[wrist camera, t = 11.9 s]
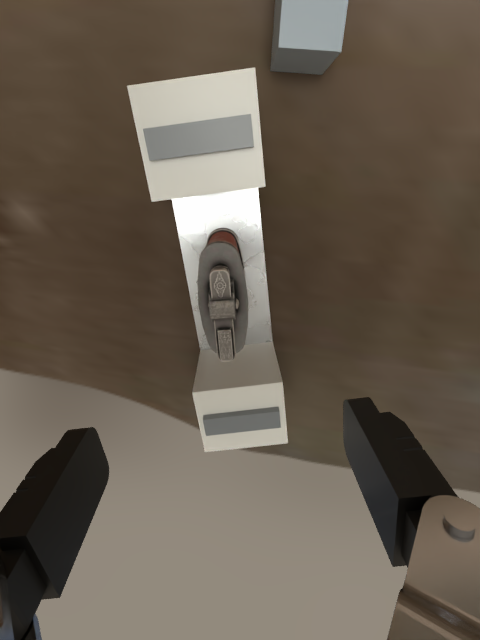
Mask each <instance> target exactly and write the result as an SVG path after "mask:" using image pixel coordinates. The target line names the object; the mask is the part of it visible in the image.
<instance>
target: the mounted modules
mask: <svg viewBox="0 0 480 640" xmlns="http://www.w3.org/2000/svg"><path fill="white" fill-rule="evenodd" d="M127 88H128V92H129V97H130V102H131V107H132V111H133V116H134V121H135V125H136V130H137V135H138V140H139V144H140V149H141V154H142V158H143V163H144V168H145V173H146V177H147V182H148V187H149V191H150V196H151V201H152V202H154V201H162V200H169V199H177V198H184V197H192V196H199V195H207V194H214V193H222V192H229V191H237V190H245V189H252V188H260V187H266V186H265V175H264V164H263V152H262V141H261V129H260V118H259V107H258V95H257V84H256V72H255V68H248V69H241V70H234V71H227V72H220V73H213V74H206V75H199V76H192V77H185V78H178V79H171V80H164V81H157V82H150V83H143V84H136V85H129V86H127ZM192 394H193V399H194V403H195V408H196V413H197V418H198V422H199V427H200V432H201V436H202V441H203V446H204V451H205V452H212V451H221V450H230V449H239V448H248V447H257V446H266V445H275V444H284V443H288V438H287V426H286V415H285V403H284V392H283V382H282V378H281V373H280V369H279V365H278V361H277V357H276V353H275V349H274V345H273V342H266V343H258V344H250V345H244V347H243V349H242V350H241V351H240V352H238V353H236V357H235V359H234V360H233V361H229V362H222V361H220V360H219V359H218V356H217V353H215V352H214V351H212V350H211V349H208V350H200V355H199V360H198V365H197V370H196V376H195V381H194V386H193V391H192Z"/></svg>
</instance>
